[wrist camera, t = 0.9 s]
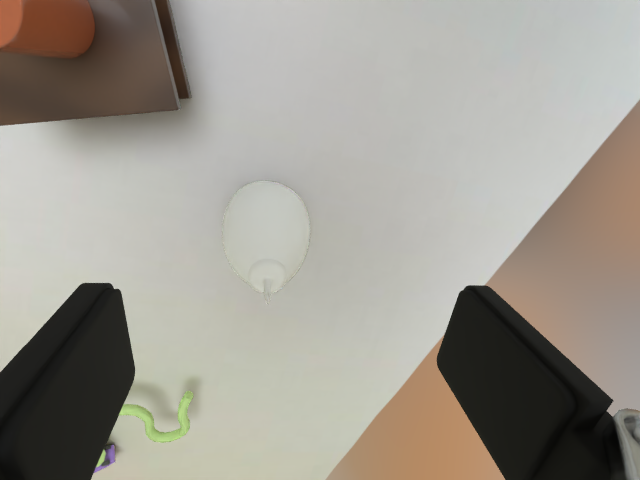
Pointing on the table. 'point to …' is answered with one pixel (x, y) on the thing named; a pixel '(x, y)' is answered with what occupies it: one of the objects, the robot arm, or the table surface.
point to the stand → (101, 69)
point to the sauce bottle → (266, 235)
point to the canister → (46, 27)
